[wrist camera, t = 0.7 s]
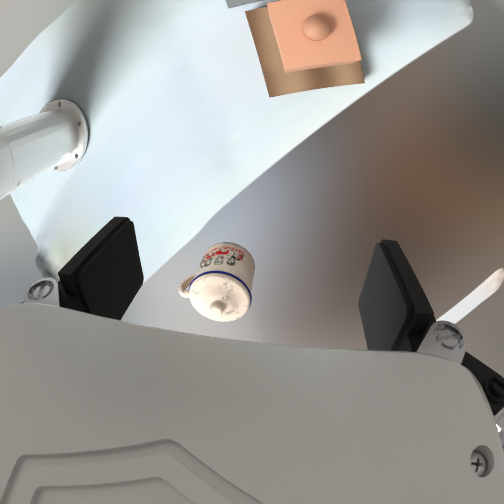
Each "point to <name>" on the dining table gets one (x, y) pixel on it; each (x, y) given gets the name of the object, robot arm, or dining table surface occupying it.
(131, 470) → the robot arm
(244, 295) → the teacup with lid
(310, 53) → the peach cube
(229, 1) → the coaster
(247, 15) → the post base
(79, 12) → the dining table surface
